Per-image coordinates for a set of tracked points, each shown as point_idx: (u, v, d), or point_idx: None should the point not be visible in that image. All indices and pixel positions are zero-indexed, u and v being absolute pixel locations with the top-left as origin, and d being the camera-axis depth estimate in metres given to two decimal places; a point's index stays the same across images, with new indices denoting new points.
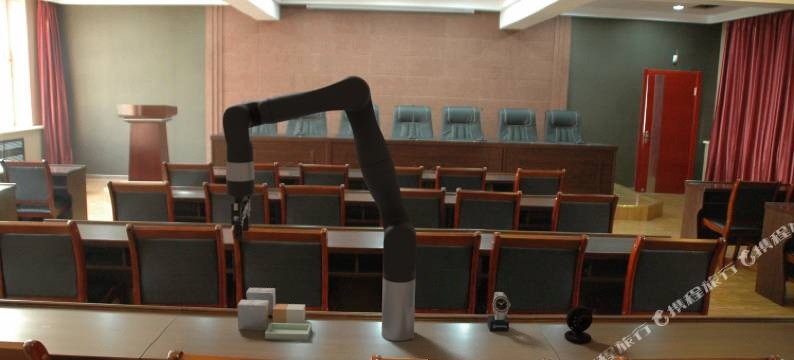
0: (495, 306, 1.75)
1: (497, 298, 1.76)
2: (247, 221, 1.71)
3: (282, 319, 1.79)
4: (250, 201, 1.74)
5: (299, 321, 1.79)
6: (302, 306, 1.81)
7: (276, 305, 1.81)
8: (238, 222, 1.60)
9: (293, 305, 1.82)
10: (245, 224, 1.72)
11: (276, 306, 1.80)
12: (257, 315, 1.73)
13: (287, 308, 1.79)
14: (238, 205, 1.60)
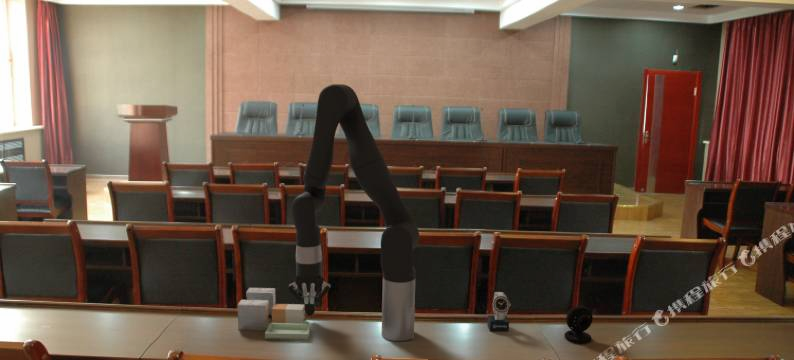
0: (495, 306, 1.75)
1: (497, 298, 1.76)
2: None
3: (281, 319, 1.79)
4: None
5: (298, 321, 1.79)
6: (301, 306, 1.81)
7: (275, 305, 1.81)
8: None
9: (293, 304, 1.82)
10: None
11: (275, 306, 1.80)
12: (257, 315, 1.73)
13: (286, 308, 1.79)
14: None
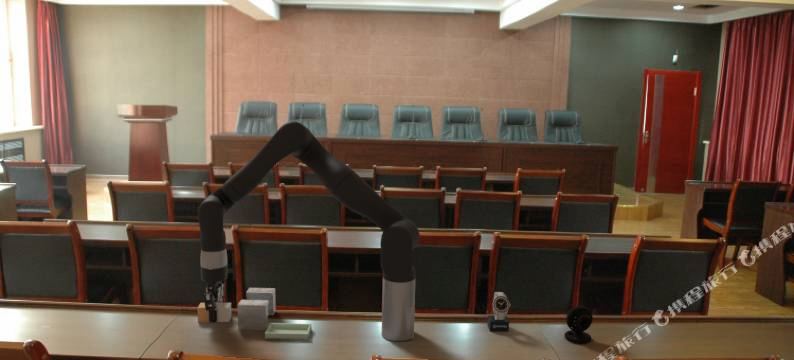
0: (495, 306, 1.75)
1: (497, 298, 1.76)
2: None
3: (207, 317, 1.78)
4: (204, 301, 1.73)
5: (224, 319, 1.79)
6: (228, 304, 1.81)
7: (201, 304, 1.80)
8: None
9: (219, 303, 1.81)
10: None
11: (200, 305, 1.79)
12: (257, 315, 1.73)
13: None
14: None
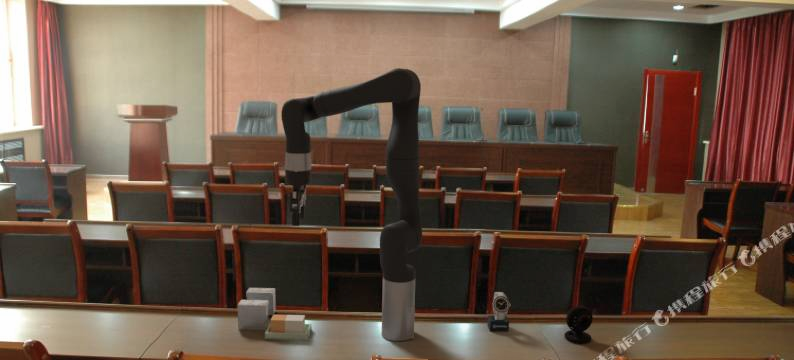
0: (495, 306, 1.75)
1: (497, 298, 1.76)
2: None
3: (280, 330, 1.69)
4: (290, 200, 1.70)
5: None
6: (302, 317, 1.71)
7: (274, 316, 1.72)
8: None
9: (293, 315, 1.72)
10: None
11: (274, 317, 1.71)
12: (257, 315, 1.73)
13: (286, 319, 1.70)
14: None
